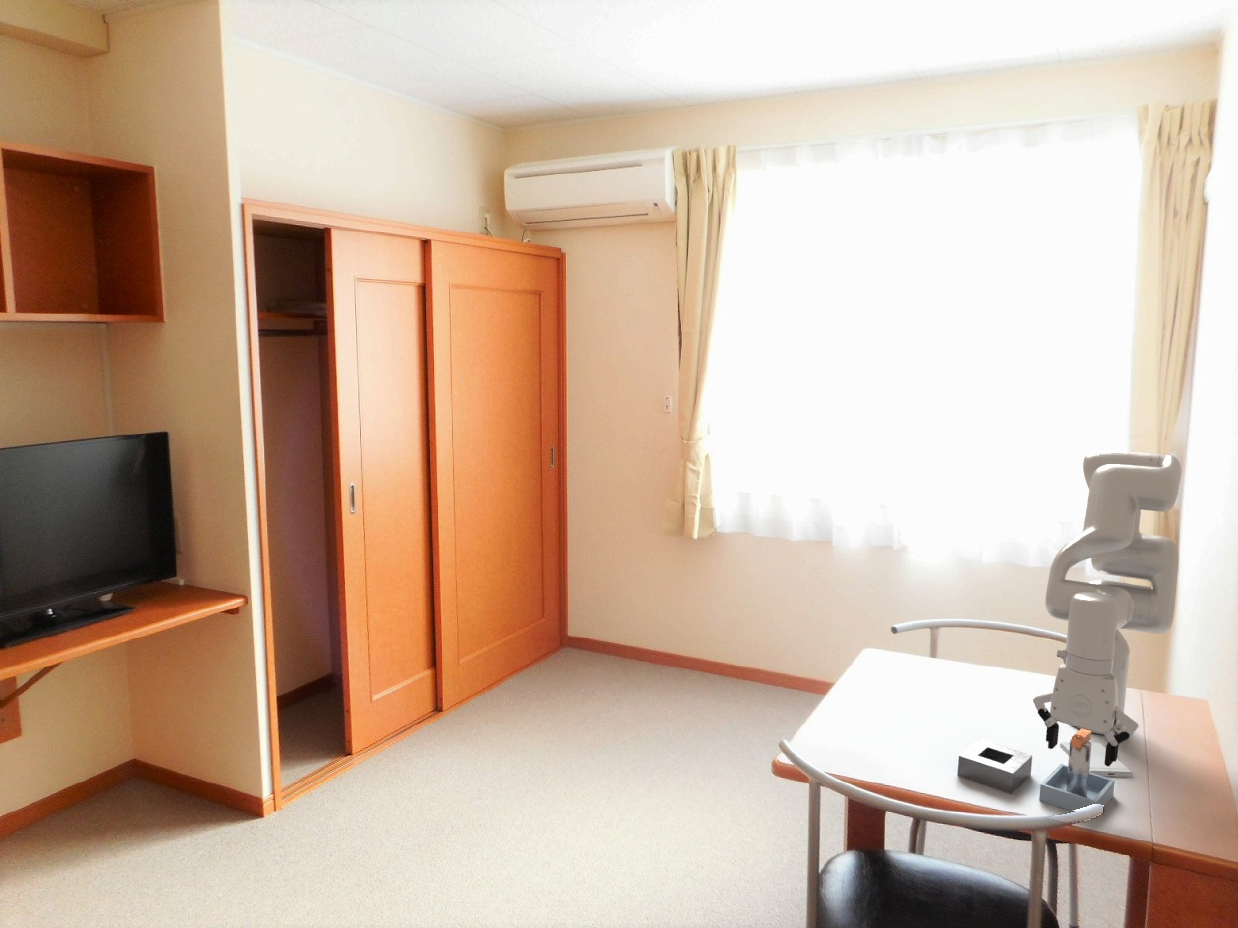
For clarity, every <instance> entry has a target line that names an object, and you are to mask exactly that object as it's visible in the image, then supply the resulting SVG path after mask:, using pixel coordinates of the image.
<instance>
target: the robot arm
mask: <svg viewBox="0 0 1238 928" xmlns="http://www.w3.org/2000/svg"><path fill="white" fill-rule="evenodd" d="M1082 468H1083V474H1084V479H1085V483H1086V485H1087V488H1088V490H1089V491H1088V497H1087V503H1086V504H1087V505H1086V511H1085V517H1084V522H1083V529H1082V532H1080V533H1079V534H1078V535H1077V536H1075V537H1074V538H1072V539H1070V540H1069V541H1068V542H1067V543H1065V545H1064V546H1063V547H1061V549H1060V550H1059V551H1058V553H1057V554H1055V556H1054V558H1053V560H1052V562H1051V567H1050V570H1049V575H1048V580H1047V586H1046V592H1045V608H1046V610H1047V611H1046V612H1047V613H1048V614H1049V615H1050V616H1051V617H1053V618H1055V619H1057V620H1061V621H1065V622H1066V621H1067V622H1068V624H1067V633H1066V634H1067V635H1066V643H1065V645H1066V646H1065V649H1064V650H1061V649H1057V652H1056V657H1057V658H1060V659H1062V660H1063V663H1062V664H1060V665H1059V667H1058V669H1057V672H1056V676H1055V680H1054V684H1053V689H1052V692H1051V693H1047V694H1042V695H1038V696H1035V697H1034V698H1032V702H1033V704H1034V706H1035V708H1036V710H1037V714H1038V715H1039V717H1040V719H1042V721H1043V722H1044V725H1045V727H1046V734H1045V741H1046V742H1047V748H1048V749H1050V750H1052V749H1054V748H1056V746H1057V745H1058V743H1059V742H1058V741H1059V732H1060V731H1059V730H1060V725H1059V723H1062V724H1065V725H1068V726H1073V727H1076V728H1078V729H1079V730H1081V729H1086V730H1089V731H1091V734H1092V733H1093V734H1098V735H1104V736H1105V737H1106V739H1107V741H1108V742H1107V744H1106V746H1105V748H1106V753H1105V763H1104V764H1105V765H1106V766H1108V767H1109V766H1110V765H1111V764H1112V763H1113V761H1114V762H1116V760H1117V759H1118V757H1119V755H1118V754H1119V744H1121V743H1123V742H1124V741H1127V740H1128V739H1129V738H1130V737H1132V735H1133V734H1134V733H1135V732H1136V731H1137V730H1138V728H1139V726H1140V725H1139V723H1138V722H1136V721H1135V720H1134V719H1132V718H1131V717H1130V716H1129V715H1127V714H1126V713H1125V704H1126V696H1127V695H1126V694H1127V685H1128V684H1127V683H1128V675H1129V666H1130V665H1129V662H1130V655H1131V654H1130V653H1131V651H1130V650H1131V649H1130V647H1129V642H1127V640H1126V638H1125V636H1124V635H1123V634H1122V632H1121V631H1120V630H1119V629H1123V630H1130V631H1135V632H1136V631H1137V632H1142V633H1150V634H1157V635H1158V634H1160V635H1161V634H1166V633H1167V632H1168V631H1170V629H1171V628H1172V625H1173V622H1174V615H1175V605H1176V595H1177V585H1178V584H1177V583H1178V574H1179V557H1180V556H1179V549H1178V545H1177V544H1176V542H1175V541H1174V540H1173V539H1171V538H1170V537H1167V536H1164V535H1157V534H1148V533H1141V531H1140V523H1141V515H1142V513H1141V512H1142V510H1143V511H1153V512H1161V513H1162V512H1164V513H1165V512H1168V511H1170V510H1172V509H1173V507H1174V506H1175V503H1176V501H1177V498H1178V495H1179V489H1180V484H1181V479H1182V477H1181V476H1182V468H1181V464H1180V461H1179V459H1178V458H1177V457H1176V456H1174V455H1171V454H1167V453H1166V454H1165V453H1154V452H1141V451H1140V452H1139V451H1130V450H1129V451H1128V450H1117V449H1116V450H1115V449H1102V450H1101V449H1099V450H1094V451H1090V452H1087V454H1086V455H1085V457H1084V458H1083V464H1082ZM1089 559H1090V561H1091V566H1092V568H1093V569H1094V570H1095V571H1096V572H1097V573H1101V574H1104V575H1108V576H1110V575H1111V576H1115V577H1123V578H1131V579H1137V580H1144V581H1147V582H1149V583H1150V585H1151V586H1147V585H1140V584H1133V583H1132V584H1131V583H1128V582H1121V581H1120V582H1119V581H1113V580H1104V579H1103V580H1101V579H1099V580H1098V579H1097V580H1090V581H1088V582H1085V581H1080V580H1079V581H1078V580H1071V579H1066V578H1067V574H1068V573H1069V571H1070V569H1071V568H1072V567H1074V566H1075V565H1076V564H1079V563H1080V562H1083V561H1085V560H1089ZM1046 703H1050V709H1049V710H1050V711H1049V710H1048V709H1047V708H1046ZM1058 722H1059V723H1058Z"/></svg>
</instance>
